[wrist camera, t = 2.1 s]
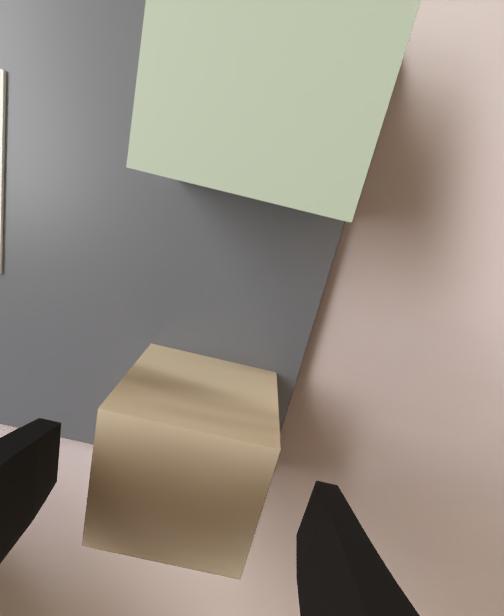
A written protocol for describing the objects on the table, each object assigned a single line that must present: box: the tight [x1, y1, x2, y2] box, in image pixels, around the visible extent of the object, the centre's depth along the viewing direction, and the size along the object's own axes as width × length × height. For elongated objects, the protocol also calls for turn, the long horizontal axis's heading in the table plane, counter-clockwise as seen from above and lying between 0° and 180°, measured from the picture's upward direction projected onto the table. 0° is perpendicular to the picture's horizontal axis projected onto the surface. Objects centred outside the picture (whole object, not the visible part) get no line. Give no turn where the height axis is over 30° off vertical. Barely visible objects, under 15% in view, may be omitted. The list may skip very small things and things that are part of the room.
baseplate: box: [0, 0, 345, 444], centre depth 11 cm, size 15×17×1 cm
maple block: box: [82, 343, 281, 579], centre depth 11 cm, size 4×4×4 cm
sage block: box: [126, 0, 421, 223], centre depth 8 cm, size 4×4×4 cm
